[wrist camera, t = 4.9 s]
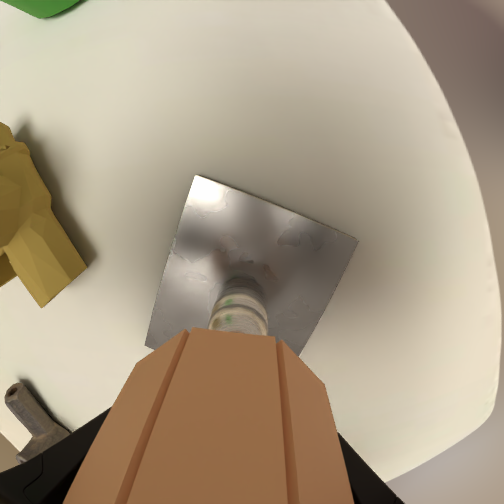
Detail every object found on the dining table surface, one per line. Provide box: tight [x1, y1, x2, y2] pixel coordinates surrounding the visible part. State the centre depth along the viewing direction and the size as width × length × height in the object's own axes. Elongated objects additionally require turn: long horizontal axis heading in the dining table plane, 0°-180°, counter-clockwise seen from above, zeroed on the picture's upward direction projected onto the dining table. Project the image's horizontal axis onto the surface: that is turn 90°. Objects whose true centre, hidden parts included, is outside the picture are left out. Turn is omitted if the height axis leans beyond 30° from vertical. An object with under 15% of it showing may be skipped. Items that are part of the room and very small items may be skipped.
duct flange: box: [145, 175, 358, 356], centre depth 16 cm, size 10×12×6 cm
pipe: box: [5, 383, 70, 464], centre depth 20 cm, size 6×13×8 cm, turn 16°
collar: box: [63, 327, 354, 504], centre depth 6 cm, size 6×6×7 cm
